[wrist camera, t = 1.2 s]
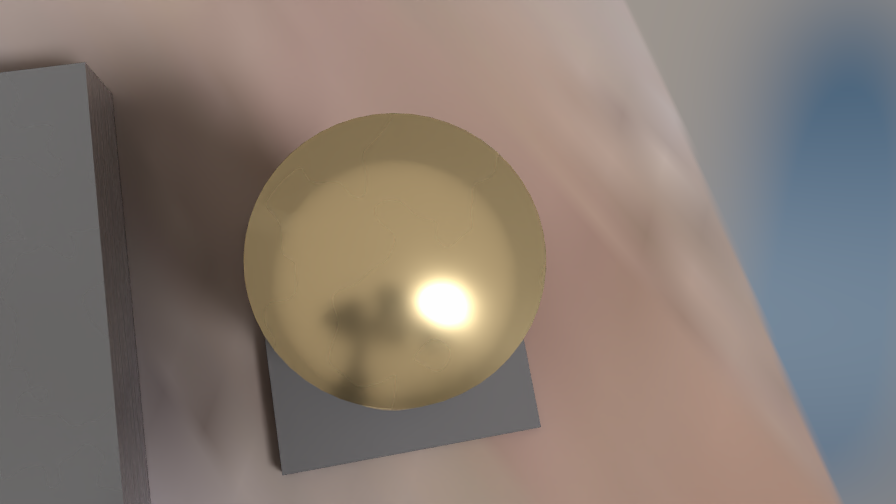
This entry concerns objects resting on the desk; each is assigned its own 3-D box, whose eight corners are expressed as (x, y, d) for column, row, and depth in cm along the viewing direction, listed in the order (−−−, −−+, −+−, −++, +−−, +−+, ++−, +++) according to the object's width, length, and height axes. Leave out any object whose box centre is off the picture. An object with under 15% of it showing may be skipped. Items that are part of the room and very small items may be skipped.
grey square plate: (537, 426, 21) (540, 427, 20) (284, 473, 20) (282, 475, 20) (491, 187, 22) (493, 183, 22) (252, 223, 21) (249, 219, 21)
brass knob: (494, 394, 20) (573, 379, 12) (318, 425, 20) (263, 435, 11) (463, 225, 21) (514, 95, 13) (294, 251, 21) (226, 134, 12)
